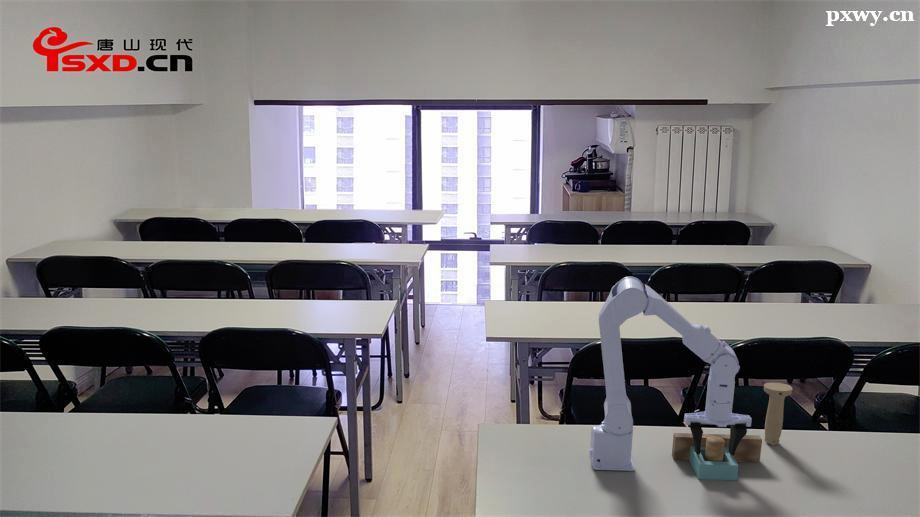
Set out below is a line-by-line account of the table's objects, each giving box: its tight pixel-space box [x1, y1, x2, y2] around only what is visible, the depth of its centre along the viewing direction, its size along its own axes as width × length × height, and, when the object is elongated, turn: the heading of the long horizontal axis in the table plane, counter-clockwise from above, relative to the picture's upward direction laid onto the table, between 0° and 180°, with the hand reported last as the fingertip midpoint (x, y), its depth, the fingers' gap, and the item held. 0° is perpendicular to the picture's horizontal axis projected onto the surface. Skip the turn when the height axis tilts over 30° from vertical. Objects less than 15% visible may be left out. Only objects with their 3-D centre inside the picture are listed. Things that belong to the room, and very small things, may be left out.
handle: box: [763, 382, 793, 447], centre depth 198 cm, size 5×6×15 cm
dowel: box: [704, 436, 725, 462], centre depth 185 cm, size 4×4×7 cm
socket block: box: [688, 446, 739, 481], centre depth 186 cm, size 9×9×4 cm
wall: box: [671, 432, 763, 463], centre depth 191 cm, size 20×2×6 cm, turn 88°
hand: (714, 453), depth 185 cm, fingers open, 7 cm apart
